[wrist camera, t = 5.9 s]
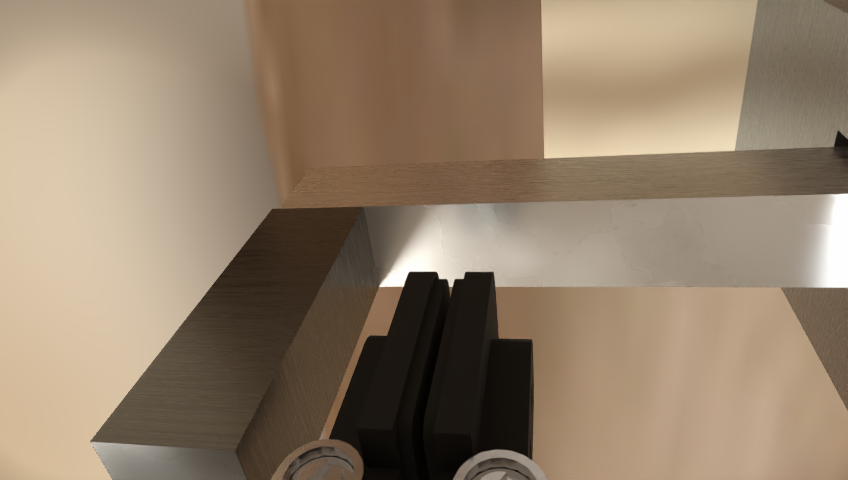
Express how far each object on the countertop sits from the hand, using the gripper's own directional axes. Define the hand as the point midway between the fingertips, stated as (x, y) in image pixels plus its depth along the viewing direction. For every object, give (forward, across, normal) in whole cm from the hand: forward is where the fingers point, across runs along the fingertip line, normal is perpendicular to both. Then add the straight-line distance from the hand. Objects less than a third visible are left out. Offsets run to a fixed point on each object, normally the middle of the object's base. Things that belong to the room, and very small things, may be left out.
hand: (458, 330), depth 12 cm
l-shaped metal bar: (+6, -5, 0) cm, 8 cm away
